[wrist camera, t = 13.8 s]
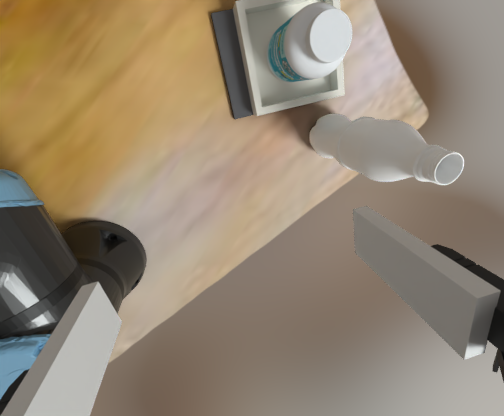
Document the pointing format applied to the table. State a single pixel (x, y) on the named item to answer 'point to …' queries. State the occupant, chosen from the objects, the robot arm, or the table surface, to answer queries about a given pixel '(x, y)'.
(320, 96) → the tray
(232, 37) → the mat
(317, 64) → the pill bottle
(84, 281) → the robot arm
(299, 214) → the table surface
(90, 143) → the table surface
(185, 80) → the table surface
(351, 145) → the water bottle
